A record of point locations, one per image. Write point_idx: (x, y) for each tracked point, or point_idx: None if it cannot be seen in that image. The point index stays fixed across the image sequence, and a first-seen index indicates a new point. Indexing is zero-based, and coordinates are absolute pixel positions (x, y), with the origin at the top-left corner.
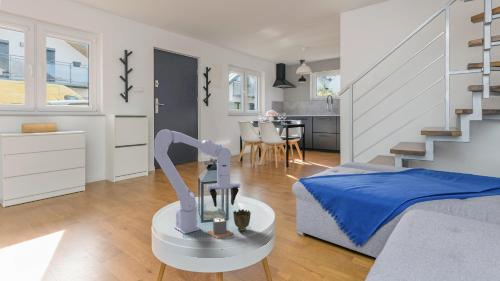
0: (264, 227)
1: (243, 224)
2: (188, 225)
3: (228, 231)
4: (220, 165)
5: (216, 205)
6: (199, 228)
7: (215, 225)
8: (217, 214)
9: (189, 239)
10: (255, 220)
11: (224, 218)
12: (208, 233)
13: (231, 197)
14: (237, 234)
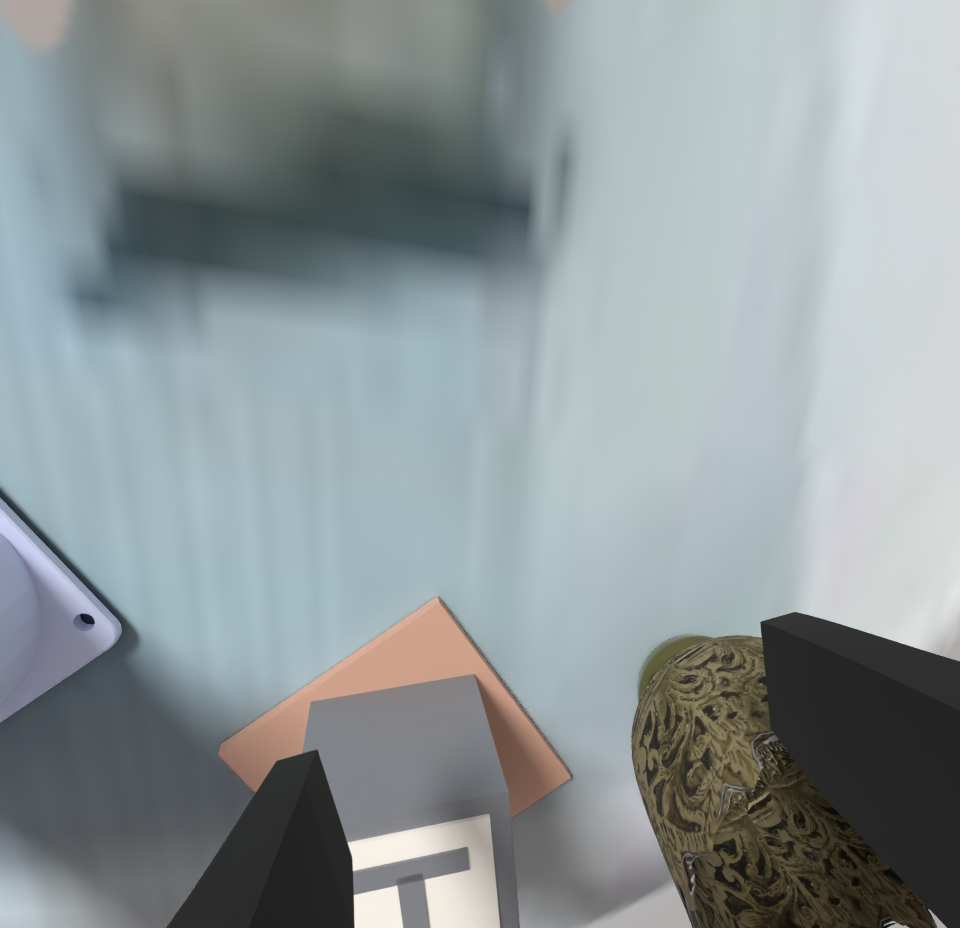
0: (941, 600)
1: (738, 839)
2: None
3: (515, 747)
4: None
5: (348, 910)
6: (92, 646)
7: None
8: None
9: (19, 920)
10: (924, 342)
11: (500, 833)
12: (254, 785)
13: (936, 768)
14: (608, 782)
